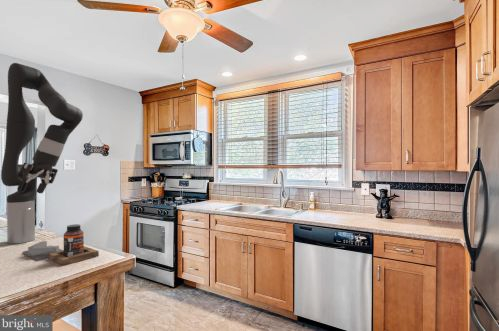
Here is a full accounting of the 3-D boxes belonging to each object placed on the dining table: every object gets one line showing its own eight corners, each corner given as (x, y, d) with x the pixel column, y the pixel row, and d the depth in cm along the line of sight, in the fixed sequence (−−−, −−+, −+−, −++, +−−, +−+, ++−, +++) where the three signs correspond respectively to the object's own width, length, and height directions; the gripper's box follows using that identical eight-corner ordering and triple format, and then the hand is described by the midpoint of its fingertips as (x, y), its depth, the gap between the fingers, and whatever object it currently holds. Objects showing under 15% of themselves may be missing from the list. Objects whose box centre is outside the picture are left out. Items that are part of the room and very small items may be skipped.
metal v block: (22, 253, 101) (22, 244, 101) (50, 247, 108) (50, 239, 108) (37, 260, 92) (37, 251, 92) (67, 253, 100) (67, 245, 100)
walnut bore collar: (48, 258, 95) (48, 253, 95) (82, 250, 104) (82, 245, 104) (63, 265, 88) (63, 260, 88) (98, 255, 97) (98, 250, 97)
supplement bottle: (73, 260, 92) (73, 227, 92) (59, 259, 93) (58, 226, 93) (87, 255, 98) (87, 223, 98) (73, 254, 99) (73, 223, 99)
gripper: (54, 152, 111) (36, 190, 108) (24, 144, 97) (3, 187, 94) (70, 158, 110) (53, 196, 108) (43, 151, 96) (22, 194, 94)
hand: (30, 192), depth 101 cm, fingers open, 8 cm apart
